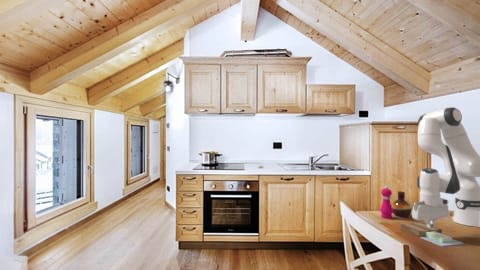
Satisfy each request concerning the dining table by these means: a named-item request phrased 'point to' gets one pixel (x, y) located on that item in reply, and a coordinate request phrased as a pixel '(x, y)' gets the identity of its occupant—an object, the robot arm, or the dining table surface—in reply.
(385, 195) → the pepper mill
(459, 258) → the dining table surface
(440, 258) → the dining table surface
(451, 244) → the mat
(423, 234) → the deck
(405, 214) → the vase
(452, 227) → the dining table surface
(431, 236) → the pale green flat block
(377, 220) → the dining table surface
